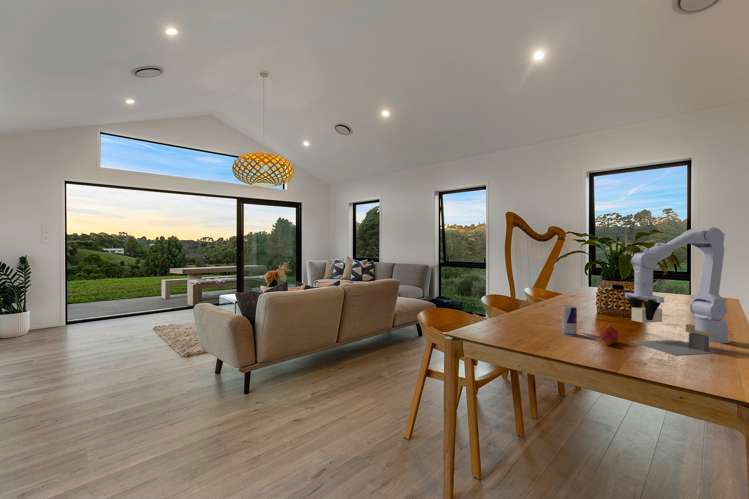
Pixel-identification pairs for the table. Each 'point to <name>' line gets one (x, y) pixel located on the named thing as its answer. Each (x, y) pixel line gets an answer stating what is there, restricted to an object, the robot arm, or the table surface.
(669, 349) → the slate board
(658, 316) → the cover block
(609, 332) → the onion
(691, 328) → the brass bolt
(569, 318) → the energy drink
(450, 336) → the table surface
